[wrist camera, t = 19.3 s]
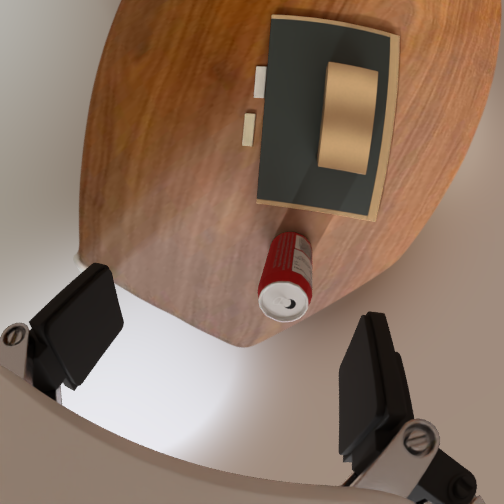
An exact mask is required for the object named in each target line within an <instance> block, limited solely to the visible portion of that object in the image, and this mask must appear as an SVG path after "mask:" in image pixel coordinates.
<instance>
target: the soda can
mask: <svg viewBox="0 0 504 504" xmlns="http://www.w3.org/2000/svg"><path fill="white" fill-rule="evenodd" d="M258 297H259V301H258V302H259V307H260V308H261V310H262V311H263V313H264V314H265V315H266V316H267V317H269V318H271V319H273V320H275V321H278V322H292V321H295V320H297V319H299V318H301V317H302V316H303V315H304V314H305V312H306V311H307V308H308V306H309V304H310V301H311V298H312V247H311V244H310V242H309V241H308V240H307V239H306V238H305V237H304V236H303V235H301V234H298V233H296V232H285V233H282V234H280V235H278V236H277V237H276V238H275V239H274V240H273V241H272V243H271V246H270V249H269V253H268V256H267V259H266V263H265V266H264V269H263V273H262V276H261V280H260V283H259V287H258Z"/></svg>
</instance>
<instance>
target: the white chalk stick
mask: <svg viewBox="0 0 504 504" xmlns="http://www.w3.org/2000/svg"><path fill="white" fill-rule="evenodd" d="M266 72H267V67H264V66H256V77H255V89H254V97H255V98H264V96H265V84H266Z"/></svg>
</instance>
